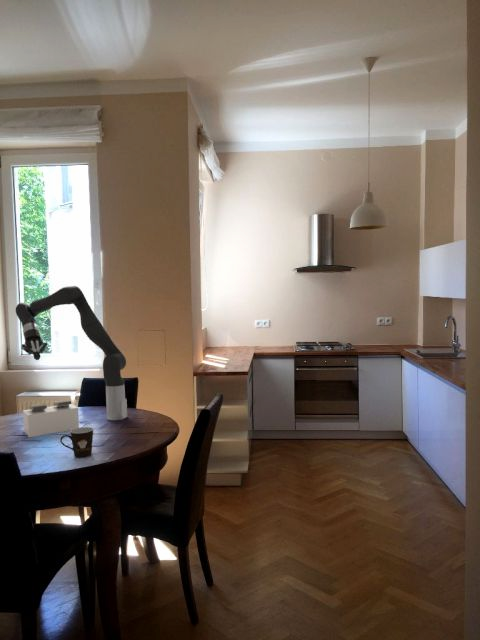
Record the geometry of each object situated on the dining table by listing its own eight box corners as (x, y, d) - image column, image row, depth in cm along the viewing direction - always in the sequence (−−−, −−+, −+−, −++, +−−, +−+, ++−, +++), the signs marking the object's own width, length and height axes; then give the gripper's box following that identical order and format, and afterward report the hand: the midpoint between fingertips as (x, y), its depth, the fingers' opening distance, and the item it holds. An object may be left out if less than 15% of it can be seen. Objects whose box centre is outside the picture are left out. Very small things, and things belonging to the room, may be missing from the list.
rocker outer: (43, 406, 224) (42, 403, 224) (46, 408, 217) (46, 404, 218) (29, 408, 221) (29, 405, 221) (32, 410, 214) (32, 406, 214)
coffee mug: (97, 451, 189) (96, 427, 189) (89, 459, 181) (87, 433, 180) (70, 451, 190) (69, 427, 190) (59, 458, 182) (58, 433, 181)
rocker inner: (67, 403, 230) (66, 400, 230) (71, 404, 224) (71, 400, 224) (54, 405, 227) (53, 402, 227) (58, 406, 220) (57, 402, 220)
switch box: (71, 423, 234) (71, 401, 233) (78, 428, 224) (77, 406, 224) (23, 431, 221) (22, 408, 221) (29, 437, 212) (27, 413, 211)
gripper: (18, 329, 240) (24, 355, 231) (45, 327, 248) (52, 353, 238) (17, 339, 245) (22, 365, 236) (44, 337, 253) (50, 362, 243)
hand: (37, 358), depth 237 cm, fingers closed
